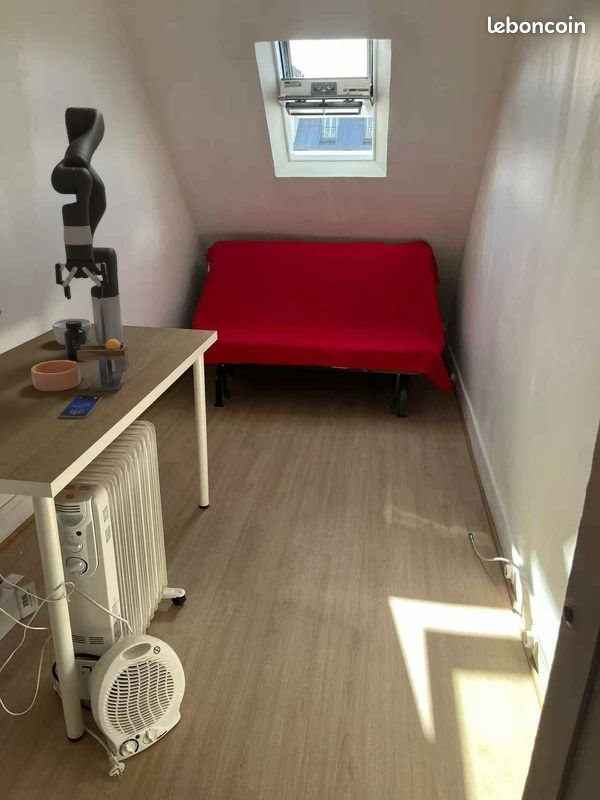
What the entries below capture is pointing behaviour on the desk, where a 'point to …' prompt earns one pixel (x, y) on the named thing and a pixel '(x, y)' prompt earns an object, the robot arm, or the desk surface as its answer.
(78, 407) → the smartphone
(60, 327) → the white bowl
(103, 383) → the chute stand
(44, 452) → the desk surface
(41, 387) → the pink round bowl
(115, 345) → the ball
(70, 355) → the supplement bottle
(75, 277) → the robot arm
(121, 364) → the chute
